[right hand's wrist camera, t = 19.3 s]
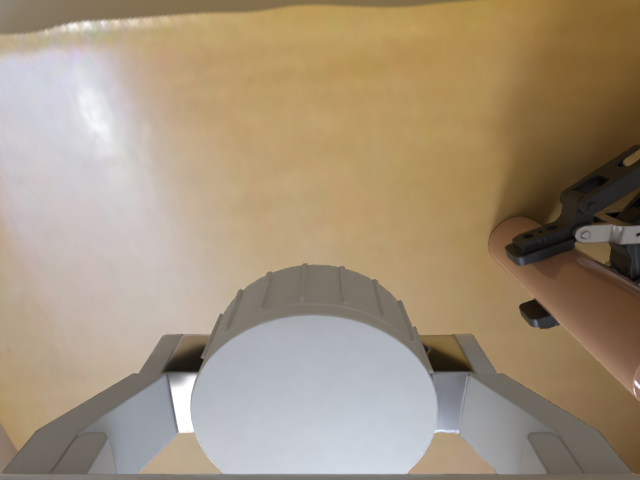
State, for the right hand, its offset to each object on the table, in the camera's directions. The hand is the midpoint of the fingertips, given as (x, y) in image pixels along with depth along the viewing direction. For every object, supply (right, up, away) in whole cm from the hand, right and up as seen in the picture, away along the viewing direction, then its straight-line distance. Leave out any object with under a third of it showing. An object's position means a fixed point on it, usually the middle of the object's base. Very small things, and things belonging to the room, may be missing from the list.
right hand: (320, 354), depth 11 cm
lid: (0, -1, -2) cm, 2 cm away
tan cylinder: (+17, +3, +23) cm, 28 cm away
